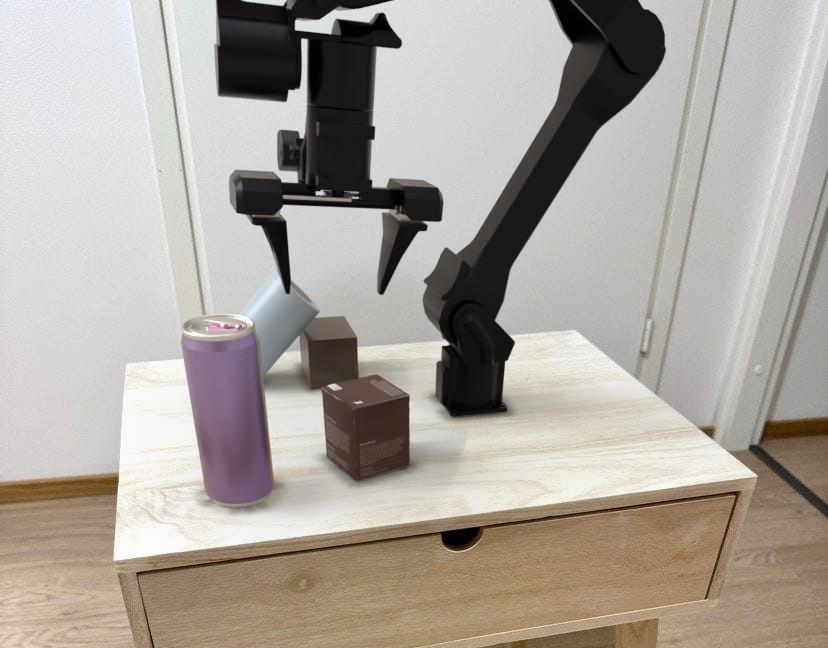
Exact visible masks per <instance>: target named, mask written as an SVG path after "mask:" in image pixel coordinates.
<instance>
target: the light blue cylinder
mask: <svg viewBox="0 0 828 648" xmlns="http://www.w3.org/2000/svg"><path fill="white" fill-rule="evenodd" d="M320 309H321V308H320V307H319V306H318V305H317V303H316V302H315V301H314V300H313V298H311V296H309V295H308V294H307V293H306V292H305V290H303V289H302V288H301V287H300V286H299V285H298V284H297V283H296V282H295V281H294V280H292V279H291V287H290V294H286V293H285V292H284V289H283V286H282V282H281V279H280V276H279V273H278V270H277V268H276V269H275V270H274V271H273V272H272V273H271V274H270V275H269V277H268V278H267V279H266V280H265V281H264V283H263V284H262V285H261V286H260V287H259V289H258V290H257V291H256V292H255V293H254V294H253V296H252V297H251V299H249V301H248V302H247V303H246V304H245V306H244V307H243V308H242V309H241V310H240V311H239V313H238V314H237V315H242V316H246V317H249V318H251V319H252V320H253V321H254V322H255V329H256V331H257V333H258V335H259V342H260V351H261V361H262V371H263V377H264V376H265V375H266V374H267V373H268V372H269V371H270V370H271V368H272V367H273V366H274V365H275V364H276V363H277V362H278V361H279V359H280V358H281V357H282V355H283V354H284V353H285V352H286V351H287V350H288V349H289V348H290V347H291V345H292V344H293V343H294V342H295V341H296V340H297V339H298V338H299V335H300V334H301V333H302V332H303V330H304V329H305V328H306V327H307V326H308V325H309V324H310V322H311V321H312V320H313V319H314V318H317V316H318V315H319V314H320V312H321V310H320Z"/></svg>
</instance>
